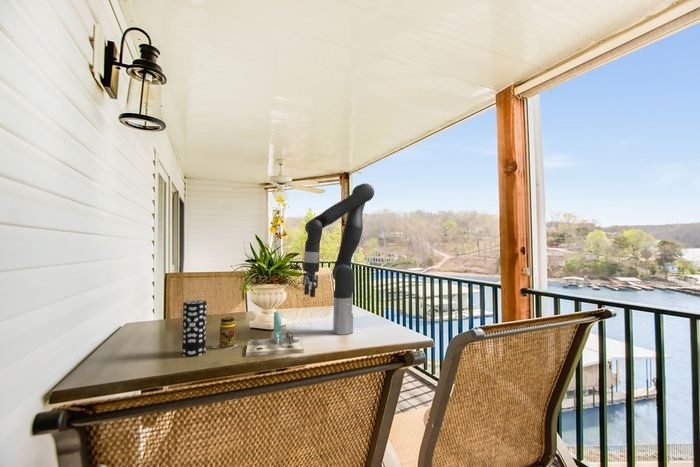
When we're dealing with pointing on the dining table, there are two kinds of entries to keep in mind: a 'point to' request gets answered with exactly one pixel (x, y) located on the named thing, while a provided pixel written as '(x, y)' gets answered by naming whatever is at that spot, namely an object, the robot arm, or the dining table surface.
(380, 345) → the dining table surface
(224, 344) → the condiment
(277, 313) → the sliding leg
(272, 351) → the grey peg board
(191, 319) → the white-spotted black cylinder
